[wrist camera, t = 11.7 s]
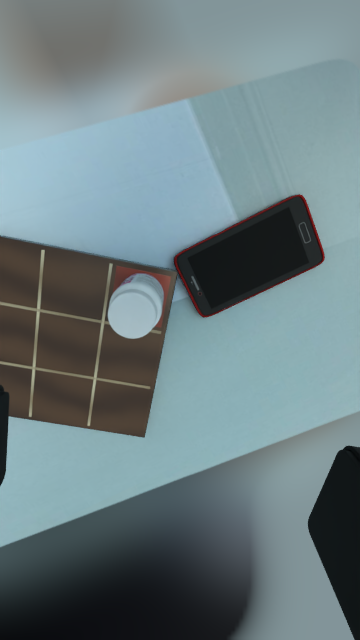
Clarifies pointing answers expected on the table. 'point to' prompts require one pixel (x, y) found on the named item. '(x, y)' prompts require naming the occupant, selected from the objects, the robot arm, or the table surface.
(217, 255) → the cell phone
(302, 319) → the table surface
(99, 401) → the grid board
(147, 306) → the pill bottle
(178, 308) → the table surface
